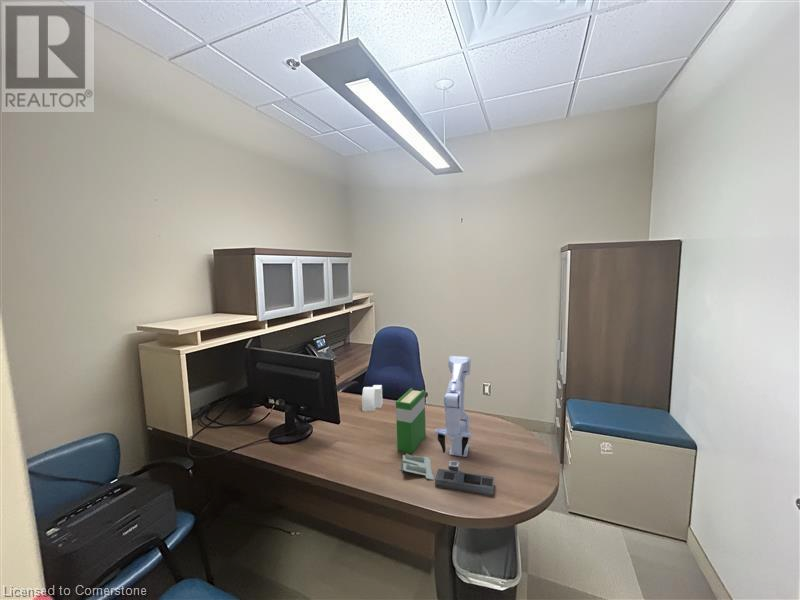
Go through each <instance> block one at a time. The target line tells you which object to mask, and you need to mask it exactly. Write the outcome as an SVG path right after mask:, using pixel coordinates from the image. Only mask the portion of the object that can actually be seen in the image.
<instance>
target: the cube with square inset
mask: <svg viewBox="0 0 800 600" xmlns="http://www.w3.org/2000/svg"><path fill="white" fill-rule="evenodd" d="M460 466H461V465H460V461H457V460H452V459H450V460H449V463H448V470H451V471H458V472H461V470H460Z"/></svg>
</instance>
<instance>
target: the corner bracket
mask: <svg viewBox="0 0 800 600" xmlns="http://www.w3.org/2000/svg"><path fill="white" fill-rule="evenodd" d="M383 401H384V399H383V385H382V384H373V385H372V386H364V387H363V388H362V394H361V411H362V412H375V411H376V409H382V406H383Z"/></svg>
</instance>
